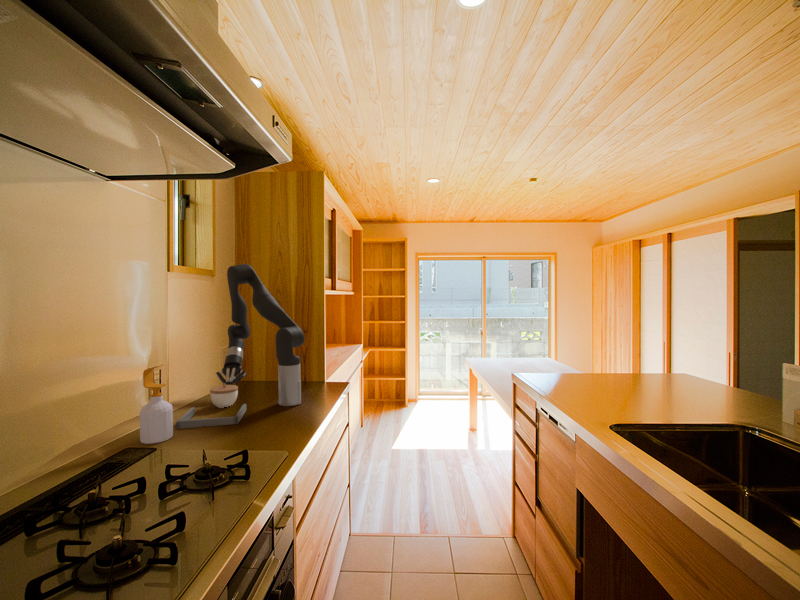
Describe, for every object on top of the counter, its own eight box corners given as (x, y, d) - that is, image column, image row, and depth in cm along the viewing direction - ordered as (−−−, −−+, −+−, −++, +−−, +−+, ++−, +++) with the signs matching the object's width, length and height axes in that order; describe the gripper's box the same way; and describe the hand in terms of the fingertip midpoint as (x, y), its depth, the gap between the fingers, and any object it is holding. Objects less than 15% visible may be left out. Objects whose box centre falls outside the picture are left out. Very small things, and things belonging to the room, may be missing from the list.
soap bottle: (161, 444, 115) (160, 367, 115) (133, 444, 115) (131, 367, 115) (179, 433, 124) (178, 362, 124) (152, 433, 124) (151, 362, 124)
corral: (246, 409, 149) (246, 403, 149) (237, 423, 133) (237, 417, 133) (191, 413, 145) (191, 407, 144) (176, 428, 128) (176, 421, 128)
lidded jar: (224, 411, 148) (223, 388, 148) (204, 408, 151) (204, 386, 151) (243, 403, 158) (243, 382, 158) (224, 401, 161) (224, 380, 161)
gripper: (217, 354, 168) (210, 387, 157) (247, 353, 171) (242, 385, 160) (220, 363, 174) (213, 395, 162) (249, 362, 177) (245, 394, 165)
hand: (228, 390), depth 161 cm, fingers closed
